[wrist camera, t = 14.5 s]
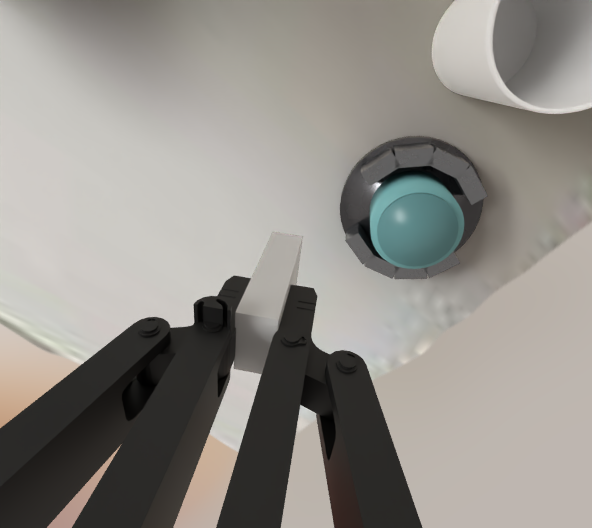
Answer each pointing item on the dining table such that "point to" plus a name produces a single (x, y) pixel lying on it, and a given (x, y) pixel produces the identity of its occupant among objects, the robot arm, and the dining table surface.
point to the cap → (415, 220)
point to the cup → (518, 53)
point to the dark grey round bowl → (401, 158)
